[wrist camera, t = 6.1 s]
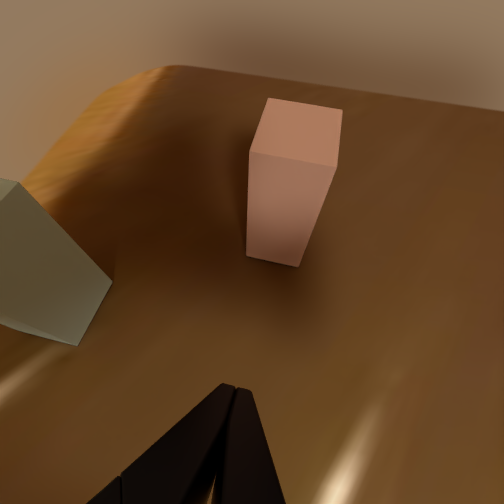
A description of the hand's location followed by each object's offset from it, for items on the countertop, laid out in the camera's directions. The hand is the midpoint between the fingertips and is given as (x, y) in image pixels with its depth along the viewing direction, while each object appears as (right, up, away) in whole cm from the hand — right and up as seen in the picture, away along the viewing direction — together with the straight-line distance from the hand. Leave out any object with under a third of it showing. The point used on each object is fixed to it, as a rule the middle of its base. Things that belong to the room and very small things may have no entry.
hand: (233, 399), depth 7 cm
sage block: (-12, 0, +11) cm, 16 cm away
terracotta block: (+3, +5, +14) cm, 15 cm away
